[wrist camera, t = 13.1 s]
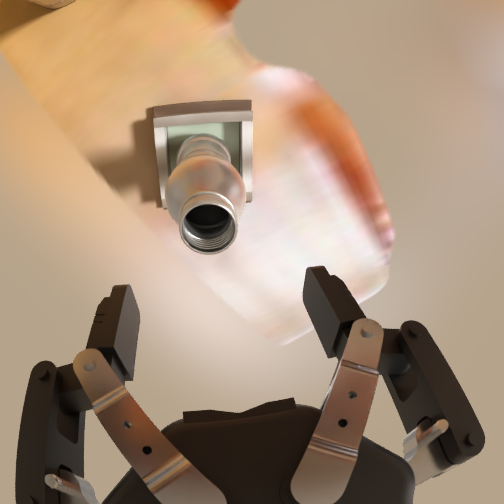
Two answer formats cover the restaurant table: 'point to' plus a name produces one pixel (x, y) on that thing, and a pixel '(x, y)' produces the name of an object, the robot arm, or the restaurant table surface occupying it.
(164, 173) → the socket board
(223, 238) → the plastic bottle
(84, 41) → the restaurant table surface
